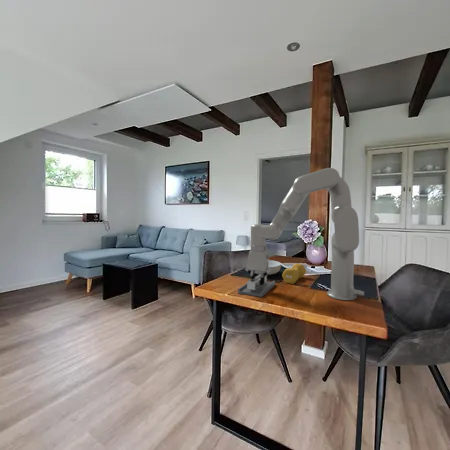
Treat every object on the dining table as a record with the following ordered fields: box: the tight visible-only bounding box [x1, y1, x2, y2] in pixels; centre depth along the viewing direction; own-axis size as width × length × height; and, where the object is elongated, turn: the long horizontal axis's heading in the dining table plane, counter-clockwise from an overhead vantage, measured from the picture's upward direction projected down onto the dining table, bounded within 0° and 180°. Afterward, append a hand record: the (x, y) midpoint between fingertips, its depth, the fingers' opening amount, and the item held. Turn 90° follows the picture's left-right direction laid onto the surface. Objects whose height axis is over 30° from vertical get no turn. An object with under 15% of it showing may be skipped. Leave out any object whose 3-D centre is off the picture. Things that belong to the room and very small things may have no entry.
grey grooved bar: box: [246, 274, 268, 290], centre depth 131 cm, size 18×4×4 cm, turn 153°
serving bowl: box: [254, 259, 282, 276], centre depth 163 cm, size 21×21×7 cm
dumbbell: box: [281, 263, 307, 285], centre depth 148 cm, size 19×9×8 cm, turn 146°
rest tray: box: [237, 280, 276, 298], centre depth 131 cm, size 12×22×2 cm, turn 153°
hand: (257, 283), depth 131 cm, fingers closed on grey grooved bar, 4 cm apart
